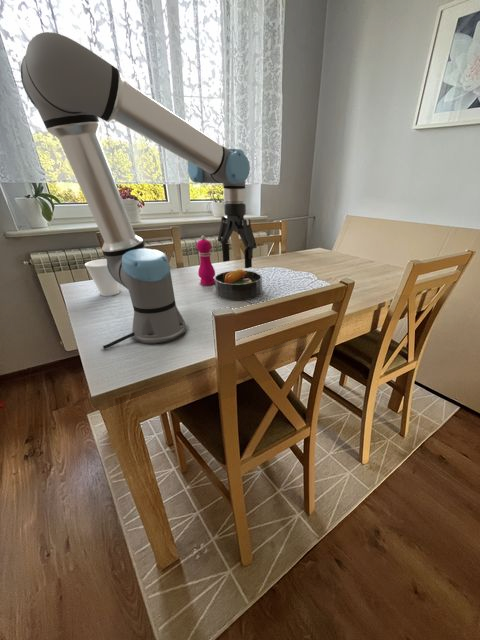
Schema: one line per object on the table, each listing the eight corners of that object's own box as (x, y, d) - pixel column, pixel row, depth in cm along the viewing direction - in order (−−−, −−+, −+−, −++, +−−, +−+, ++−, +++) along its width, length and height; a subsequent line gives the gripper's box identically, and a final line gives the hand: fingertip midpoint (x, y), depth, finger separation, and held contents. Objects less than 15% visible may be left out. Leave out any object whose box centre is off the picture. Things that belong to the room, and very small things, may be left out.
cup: (87, 296, 116) (76, 265, 109) (108, 287, 125) (100, 257, 119) (111, 299, 113) (102, 267, 106) (132, 289, 122) (124, 259, 116)
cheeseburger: (251, 296, 113) (244, 271, 108) (226, 300, 116) (218, 276, 111) (256, 287, 121) (250, 263, 117) (233, 291, 124) (226, 269, 120)
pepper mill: (208, 287, 125) (203, 237, 115) (196, 284, 128) (190, 236, 118) (219, 282, 130) (215, 235, 120) (207, 280, 133) (202, 233, 123)
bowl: (235, 304, 107) (234, 287, 104) (207, 292, 119) (205, 276, 116) (271, 293, 118) (271, 277, 115) (242, 282, 130) (241, 268, 127)
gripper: (267, 204, 96) (266, 268, 107) (222, 200, 112) (225, 257, 123) (249, 205, 92) (250, 272, 102) (205, 201, 108) (210, 259, 118)
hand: (236, 264), depth 113 cm, fingers open, 13 cm apart
